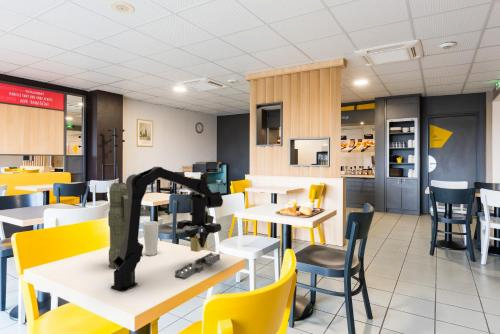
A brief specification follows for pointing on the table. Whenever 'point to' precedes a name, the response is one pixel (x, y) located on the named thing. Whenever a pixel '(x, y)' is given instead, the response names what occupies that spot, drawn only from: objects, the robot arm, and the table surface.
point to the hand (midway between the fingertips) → (198, 246)
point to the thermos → (117, 219)
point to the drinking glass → (150, 237)
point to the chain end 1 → (188, 271)
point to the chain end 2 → (208, 259)
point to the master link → (197, 243)
